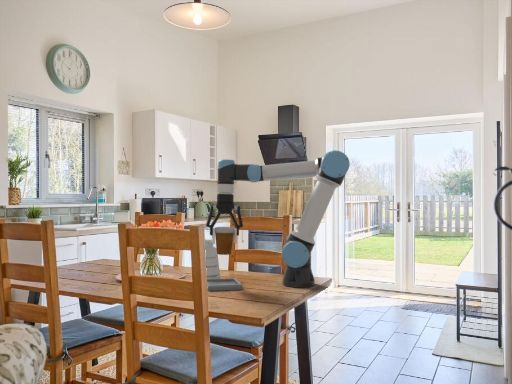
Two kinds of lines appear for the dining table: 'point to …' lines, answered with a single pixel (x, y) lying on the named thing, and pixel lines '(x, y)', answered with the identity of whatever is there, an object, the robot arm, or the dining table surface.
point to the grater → (211, 260)
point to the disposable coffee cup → (224, 240)
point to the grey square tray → (223, 284)
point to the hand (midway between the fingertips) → (224, 242)
